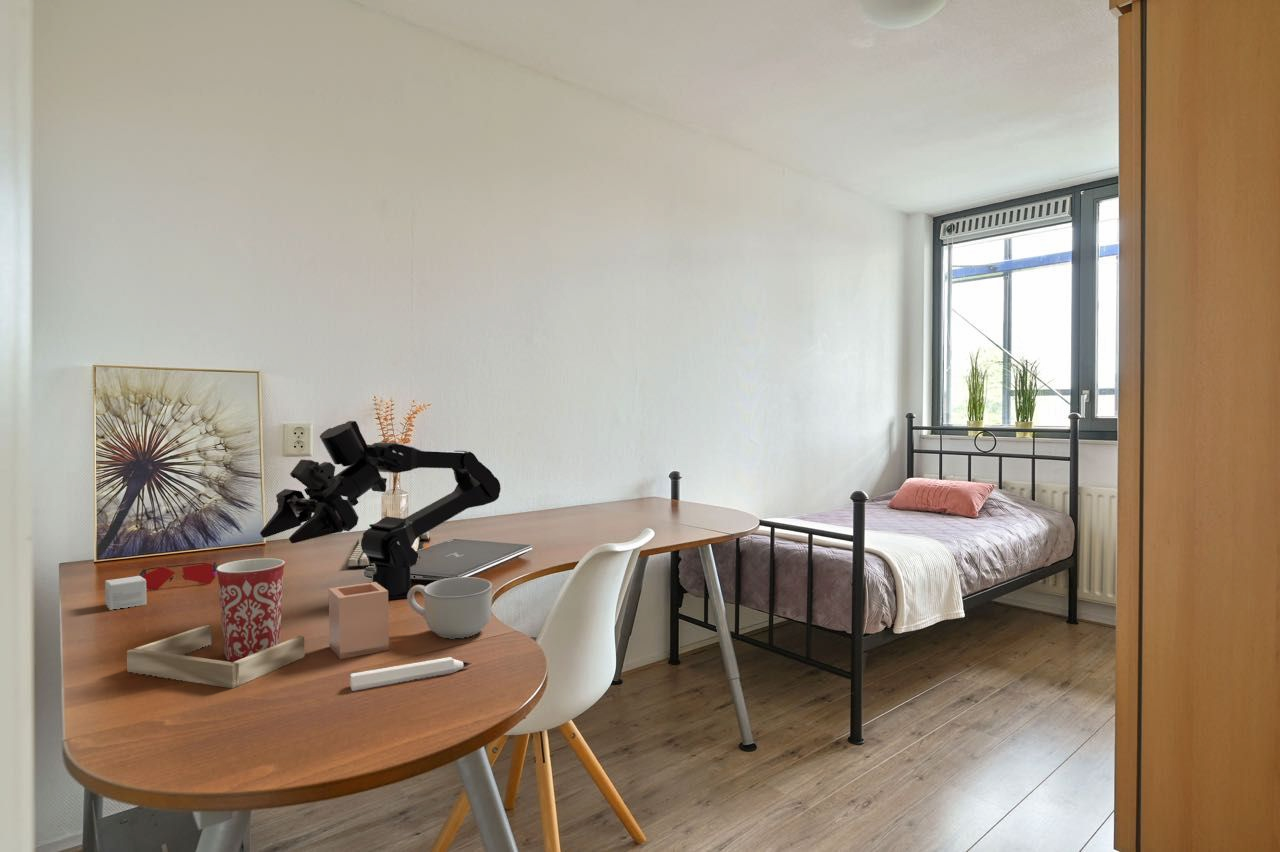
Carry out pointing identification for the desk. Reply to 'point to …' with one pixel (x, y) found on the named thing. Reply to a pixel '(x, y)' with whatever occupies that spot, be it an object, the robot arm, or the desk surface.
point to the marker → (405, 673)
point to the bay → (208, 660)
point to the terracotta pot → (358, 619)
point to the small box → (125, 592)
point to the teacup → (454, 605)
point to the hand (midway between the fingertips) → (275, 538)
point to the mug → (250, 605)
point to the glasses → (193, 573)
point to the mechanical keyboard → (361, 562)
